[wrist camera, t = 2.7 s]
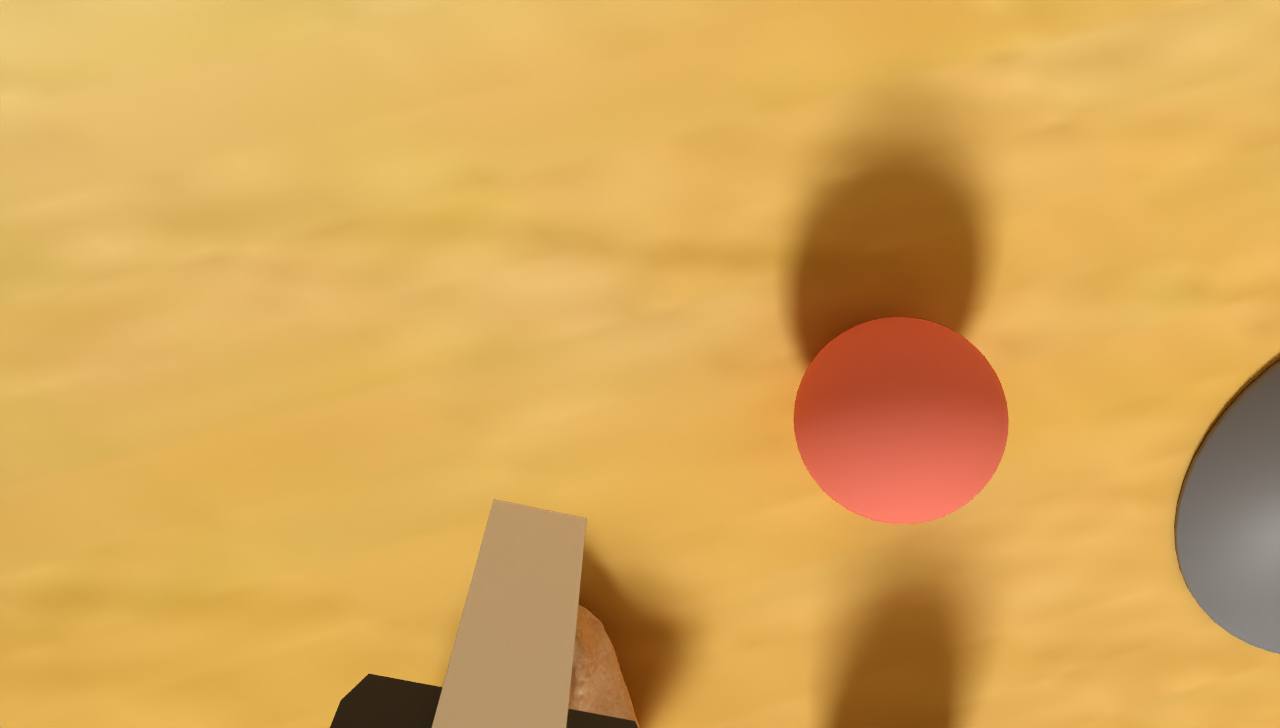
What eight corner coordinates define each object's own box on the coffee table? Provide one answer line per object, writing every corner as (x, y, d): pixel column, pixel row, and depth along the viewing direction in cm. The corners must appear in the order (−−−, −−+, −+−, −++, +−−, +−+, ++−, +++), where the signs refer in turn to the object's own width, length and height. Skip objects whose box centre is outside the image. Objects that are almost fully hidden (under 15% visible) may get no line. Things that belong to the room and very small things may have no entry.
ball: (742, 400, 28) (767, 500, 23) (859, 251, 26) (915, 325, 21) (885, 488, 29) (938, 600, 24) (1006, 352, 27) (1092, 444, 22)
